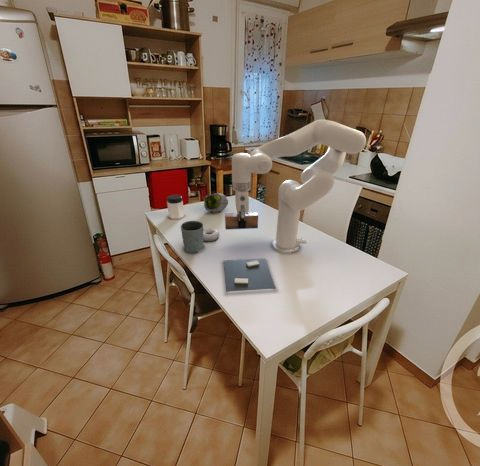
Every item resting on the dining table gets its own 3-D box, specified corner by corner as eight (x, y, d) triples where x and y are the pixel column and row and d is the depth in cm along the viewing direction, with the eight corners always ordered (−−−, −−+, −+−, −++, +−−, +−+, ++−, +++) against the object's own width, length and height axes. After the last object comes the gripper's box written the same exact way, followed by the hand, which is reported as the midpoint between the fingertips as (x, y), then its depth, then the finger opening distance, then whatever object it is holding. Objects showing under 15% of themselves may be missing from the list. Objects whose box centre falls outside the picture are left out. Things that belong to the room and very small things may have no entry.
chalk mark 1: (248, 279, 100) (248, 278, 99) (248, 284, 97) (248, 282, 97) (234, 279, 100) (234, 278, 99) (234, 283, 97) (234, 282, 97)
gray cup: (192, 241, 128) (190, 218, 122) (209, 246, 123) (208, 223, 118) (178, 250, 120) (175, 226, 115) (195, 256, 116) (193, 232, 110)
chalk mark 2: (257, 261, 110) (257, 260, 110) (259, 264, 108) (259, 263, 108) (246, 263, 109) (246, 262, 109) (248, 267, 107) (248, 265, 107)
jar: (176, 212, 159) (173, 193, 154) (186, 214, 156) (185, 195, 150) (165, 217, 152) (163, 198, 147) (176, 220, 149) (174, 200, 143)
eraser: (256, 224, 117) (256, 211, 114) (257, 228, 114) (258, 215, 111) (225, 225, 116) (224, 213, 113) (225, 229, 113) (225, 216, 110)
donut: (197, 234, 134) (200, 243, 126) (197, 228, 133) (200, 237, 124) (217, 232, 137) (221, 241, 128) (216, 226, 135) (220, 234, 127)
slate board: (265, 260, 113) (265, 258, 113) (275, 290, 96) (275, 288, 95) (223, 262, 112) (223, 260, 111) (226, 294, 94) (226, 291, 94)
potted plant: (232, 205, 161) (220, 206, 148) (217, 215, 167) (204, 218, 154) (223, 188, 162) (210, 188, 149) (208, 199, 168) (195, 200, 155)
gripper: (253, 191, 99) (252, 234, 107) (248, 179, 114) (247, 217, 122) (233, 192, 98) (234, 235, 107) (231, 179, 113) (231, 218, 122)
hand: (241, 225), depth 114 cm, fingers closed on eraser, 4 cm apart
